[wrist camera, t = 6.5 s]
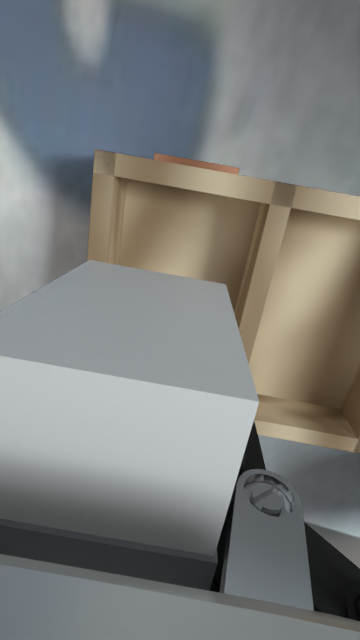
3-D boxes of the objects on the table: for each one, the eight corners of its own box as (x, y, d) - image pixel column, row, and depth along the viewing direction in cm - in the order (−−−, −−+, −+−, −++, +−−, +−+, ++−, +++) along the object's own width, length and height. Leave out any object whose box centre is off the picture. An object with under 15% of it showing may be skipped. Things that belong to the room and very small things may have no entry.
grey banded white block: (227, 284, 10) (264, 407, 4) (181, 492, 13) (165, 737, 7) (87, 259, 10) (-68, 348, 4) (71, 473, 13) (-35, 702, 7)
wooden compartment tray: (429, 207, 19) (482, 211, 16) (342, 418, 25) (367, 458, 21) (116, 151, 20) (95, 142, 16) (96, 373, 25) (77, 405, 21)
